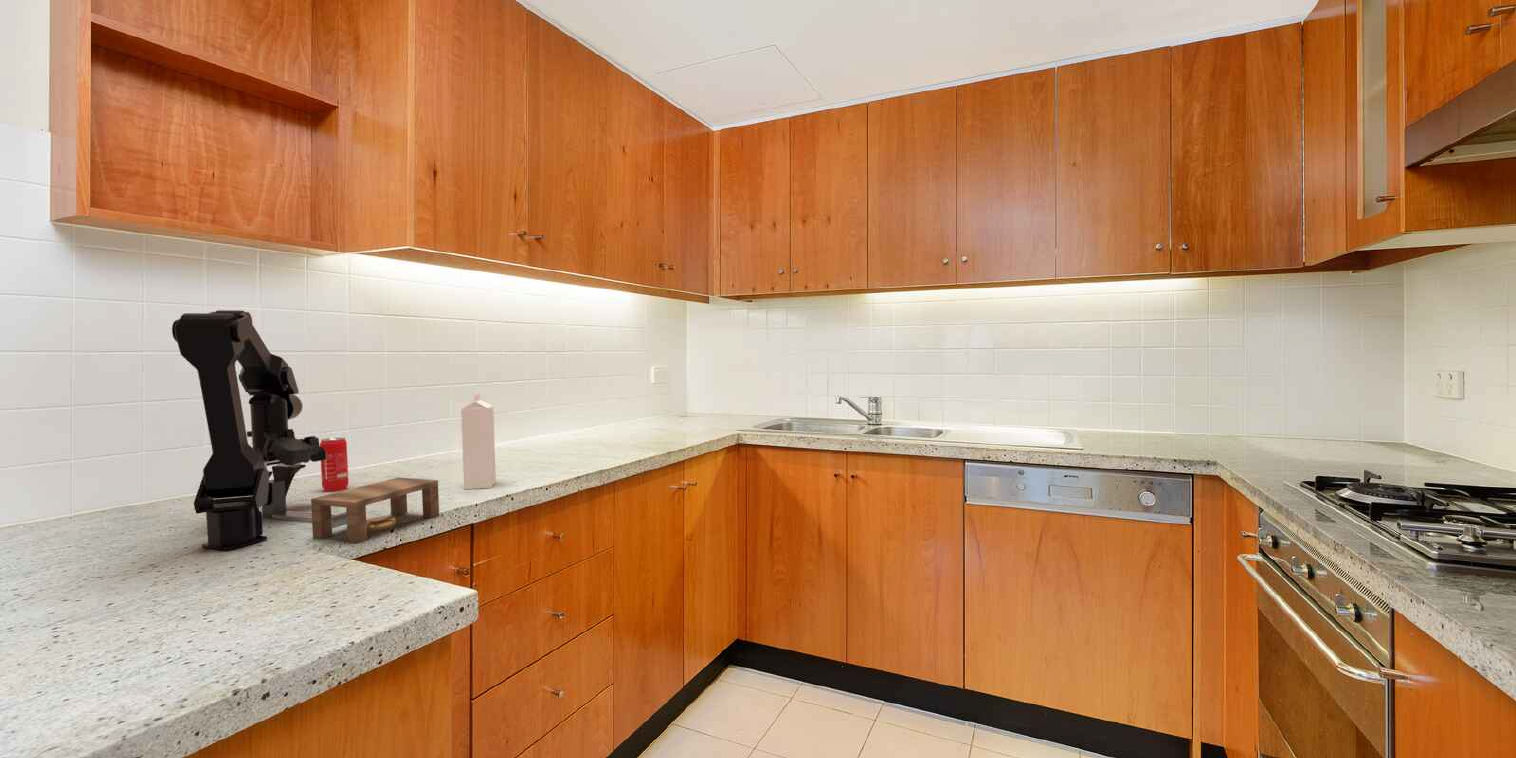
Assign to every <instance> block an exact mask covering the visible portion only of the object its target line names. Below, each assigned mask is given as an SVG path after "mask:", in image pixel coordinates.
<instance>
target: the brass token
mask: <svg viewBox="0 0 1516 758" xmlns="http://www.w3.org/2000/svg"><path fill="white" fill-rule="evenodd" d="M366 525H367V531H380V530H386V529H390V528H393V527H395V526H396V517H395V516H394V515H393V516H392V515H384V516H376V517H371V518H368V519H367V518H366Z"/></svg>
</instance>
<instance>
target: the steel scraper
mask: <svg viewBox="0 0 1516 758" xmlns="http://www.w3.org/2000/svg"><path fill="white" fill-rule="evenodd" d="M269 489H270V504H269V505H267V506H266V505H263V506H261V509H262V518H268V519H274V520H275V519H276V520H285V521H292V522H293V521H295V522H303V523H312V512H309V511H307V512H306V511H296V510H287V499H286V498H287V495H286V494H285V480H274V479H271V480H270V479H269ZM331 518H332V528H334V527H339V526H342V525H345V524H346V525H347V515H346V511H345V512H342V513H339V514H331Z"/></svg>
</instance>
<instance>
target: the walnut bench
mask: <svg viewBox="0 0 1516 758" xmlns="http://www.w3.org/2000/svg"><path fill="white" fill-rule="evenodd" d="M418 491H421V495H422V496H421V498H422V502H421V503H422V517H423V518H428V519H429V518H430V519H433V518H436V517H439V516H440V499H439V480H438V479H427V478H426V479H425V478H424V479H423V478H409V477H394V478H390V479H387V480H383V481H379V482H373V483H370V484H366V485H363V486H358V487H353V488H349V489H345V490H341V491H336V492H333V493H329V494H326V495H320V496H318V497H312V498H310V504H311V506H310V507H311V509H310V510H311V513H312V522H311V526H312V539H315V538H316V540H323V538H324V539H326V538H325V537H327V538H329V537H328V536H330V537H333V527H332V518H331V515H332V507H339V508H345V510H346V511H345V512H346V515H347V523H346V533H347V536H346V537H347V543H354V544H357V543H361V542H364V541H367V540H368V530H367V525H366V520H367V509H366V507H367V506H368V505H372V504H375V503H378V502H379V503H380V502H382V501H386V500H390V515H391V516H392V515H393V516H400V515H404V514H407V513H408V497H407V494H411V493H415V492H418Z"/></svg>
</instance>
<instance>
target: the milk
mask: <svg viewBox="0 0 1516 758" xmlns="http://www.w3.org/2000/svg"><path fill="white" fill-rule="evenodd" d="M473 399H474V400H473V401H472V402H471V403H469V404H467V405H466V406H464V407H461V409H460V416H461V441H462V442H461V443H462V445H461V446H462V462H463V463H462V469H463V472H462V473H463V489H464V490H480V489H481V488H482V489H492V487H493V486H494V485H495V484H496V483H497V477H496V476H497V473H496V450H495V445H496V443H495V421H494V420H495V419H494V416H495V415H494V406H493V404H490V403H488V402H486V401H485V400H482V399H481V394H480V393H476V394H474V395H473Z"/></svg>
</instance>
